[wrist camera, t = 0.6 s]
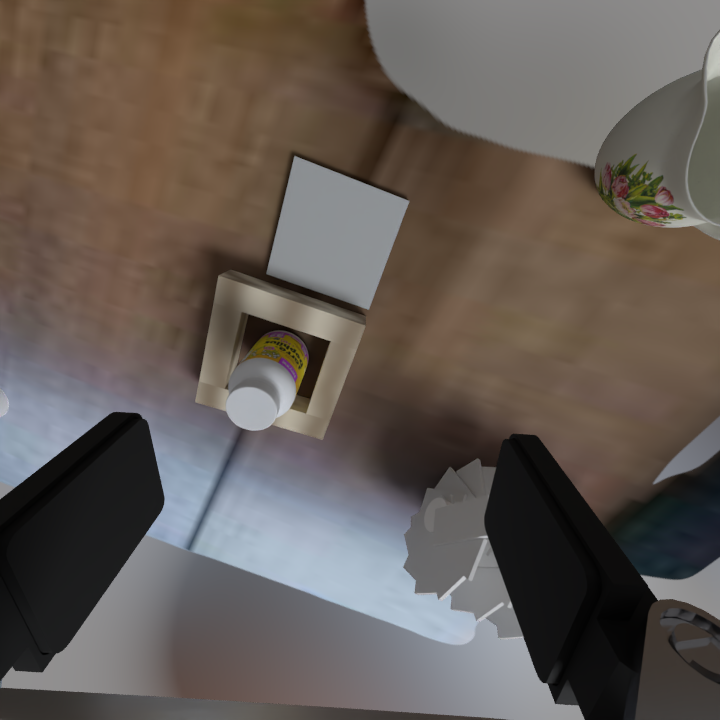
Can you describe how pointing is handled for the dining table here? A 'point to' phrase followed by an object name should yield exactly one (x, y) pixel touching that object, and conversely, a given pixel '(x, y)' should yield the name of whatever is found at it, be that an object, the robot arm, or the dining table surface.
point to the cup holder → (291, 310)
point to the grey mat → (334, 233)
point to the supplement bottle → (266, 380)
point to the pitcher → (668, 154)
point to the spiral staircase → (460, 549)
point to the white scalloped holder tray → (3, 403)
